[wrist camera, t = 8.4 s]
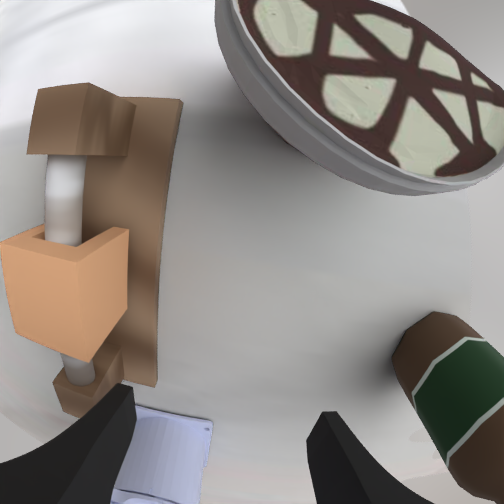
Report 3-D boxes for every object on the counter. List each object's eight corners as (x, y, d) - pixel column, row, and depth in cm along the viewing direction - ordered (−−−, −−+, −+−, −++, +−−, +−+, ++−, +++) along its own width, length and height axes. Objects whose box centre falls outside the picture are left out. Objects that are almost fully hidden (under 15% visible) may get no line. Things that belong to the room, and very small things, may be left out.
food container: (205, 152, 15) (147, 134, 6) (230, 56, 13) (215, -52, 4) (397, 203, 16) (514, 248, 7) (415, 117, 15) (532, 102, 5)
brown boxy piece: (157, 379, 20) (136, 440, 14) (73, 354, 19) (38, 403, 13) (183, 102, 14) (147, 68, 8) (72, 101, 14) (9, 86, 7)
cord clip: (127, 308, 16) (88, 363, 11) (63, 291, 15) (15, 333, 10) (129, 229, 14) (76, 262, 9) (60, 217, 14) (-1, 242, 9)
